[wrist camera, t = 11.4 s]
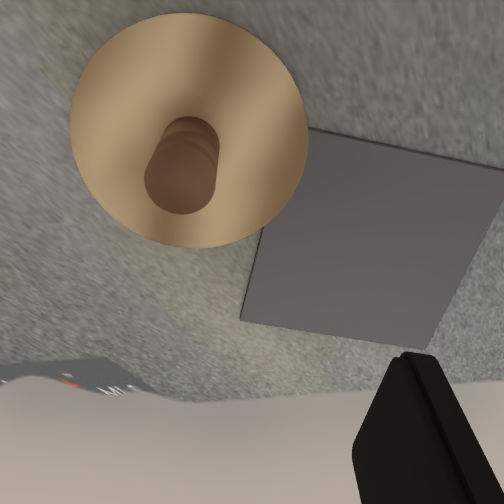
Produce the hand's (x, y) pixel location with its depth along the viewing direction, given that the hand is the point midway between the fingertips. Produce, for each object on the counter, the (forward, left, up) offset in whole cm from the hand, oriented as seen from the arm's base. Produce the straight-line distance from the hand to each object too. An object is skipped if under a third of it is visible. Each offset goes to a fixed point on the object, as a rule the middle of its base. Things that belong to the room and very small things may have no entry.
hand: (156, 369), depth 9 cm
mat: (-13, +8, -24) cm, 29 cm away
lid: (+1, +1, -19) cm, 19 cm away
